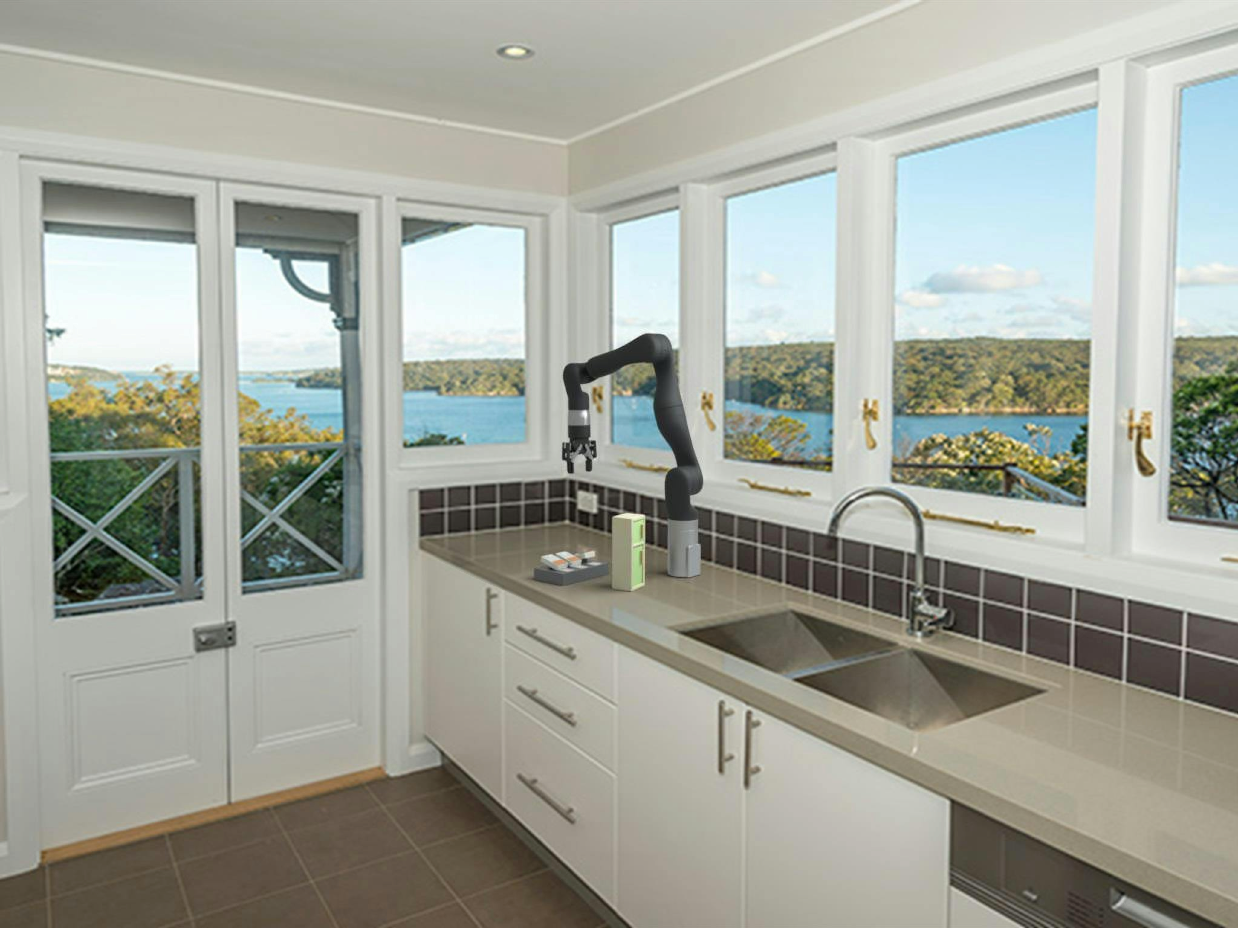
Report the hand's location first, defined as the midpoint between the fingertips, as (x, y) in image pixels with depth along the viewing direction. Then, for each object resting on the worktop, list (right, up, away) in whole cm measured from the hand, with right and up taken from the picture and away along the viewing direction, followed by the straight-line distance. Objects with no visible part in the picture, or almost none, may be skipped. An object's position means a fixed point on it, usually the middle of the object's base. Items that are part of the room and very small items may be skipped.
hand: (579, 472), depth 311 cm
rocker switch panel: (0, -31, -26) cm, 41 cm away
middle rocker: (-2, -26, -27) cm, 38 cm away
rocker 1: (-6, -27, -32) cm, 42 cm away
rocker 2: (+1, -26, -23) cm, 34 cm away
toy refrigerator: (+16, -33, -41) cm, 55 cm away
